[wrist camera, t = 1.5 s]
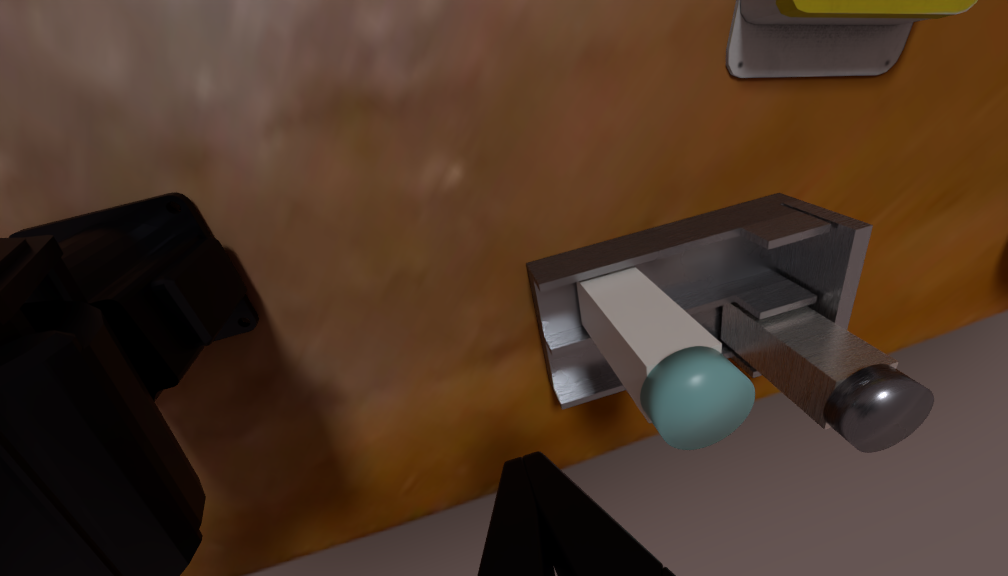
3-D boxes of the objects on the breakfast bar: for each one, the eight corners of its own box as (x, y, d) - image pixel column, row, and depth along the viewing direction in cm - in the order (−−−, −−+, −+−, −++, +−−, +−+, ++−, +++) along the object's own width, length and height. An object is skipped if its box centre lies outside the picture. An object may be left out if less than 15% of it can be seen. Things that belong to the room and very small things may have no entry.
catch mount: (549, 381, 25) (622, 543, 17) (526, 263, 21) (606, 396, 13) (763, 316, 26) (935, 437, 18) (779, 192, 23) (1009, 272, 14)
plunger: (577, 330, 22) (661, 461, 15) (569, 273, 20) (659, 390, 13) (638, 312, 22) (750, 432, 15) (635, 255, 21) (759, 359, 13)
